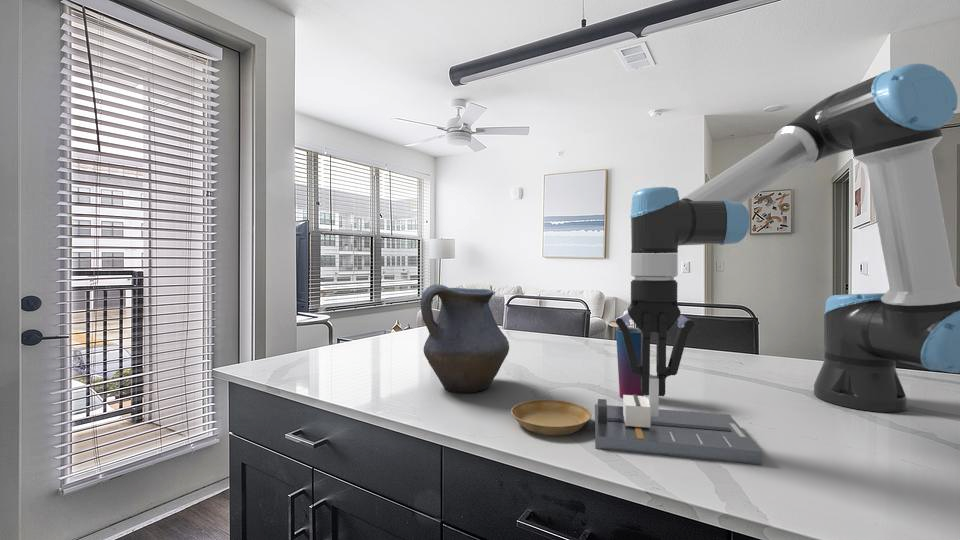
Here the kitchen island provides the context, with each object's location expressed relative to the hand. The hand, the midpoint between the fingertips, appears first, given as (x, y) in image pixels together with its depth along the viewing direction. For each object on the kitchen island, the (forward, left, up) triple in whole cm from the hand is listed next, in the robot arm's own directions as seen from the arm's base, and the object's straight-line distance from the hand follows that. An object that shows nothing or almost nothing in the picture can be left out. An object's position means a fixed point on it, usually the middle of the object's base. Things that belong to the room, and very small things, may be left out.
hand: (652, 413), depth 77 cm
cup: (+2, -21, -4) cm, 21 cm away
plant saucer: (+18, -1, -4) cm, 18 cm away
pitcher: (+40, -19, -4) cm, 44 cm away
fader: (+3, 0, -1) cm, 3 cm away
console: (-2, 0, -4) cm, 4 cm away
